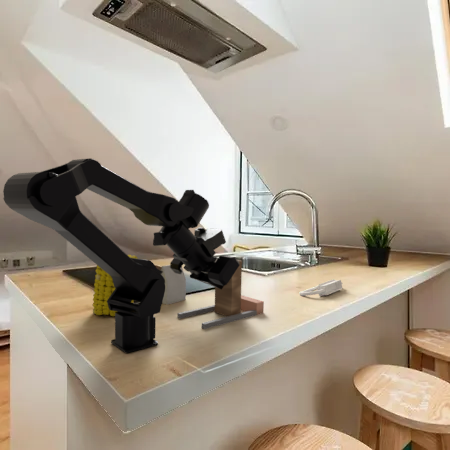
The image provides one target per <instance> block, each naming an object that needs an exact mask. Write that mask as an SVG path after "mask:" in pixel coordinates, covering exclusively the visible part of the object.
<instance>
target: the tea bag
mask: <svg viewBox="0 0 450 450" xmlns="http://www.w3.org/2000/svg"><path fill="white" fill-rule="evenodd" d="M180 269H181V270H182V274H177V273H174V271H173V270H172V269H171V268H170V264H168V265H163V266H161V269H160V271H163V273H161V275H162V276H163V277H164V279H165V293H164V297H163V301H162V305H167V306H168V305H171V304H174V303H179V302H182V301H185V300H186V298H187V297H186V295H187V294H186V292H187V291H186V289H187V279H186V278H187V277H186V275H185V271H184V268H183V266H182V267H181V268H180Z"/></svg>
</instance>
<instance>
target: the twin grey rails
mask: <svg viewBox="0 0 450 450" xmlns="http://www.w3.org/2000/svg"><path fill="white" fill-rule="evenodd" d="M264 304H265V303H264V301H263V300H259V299H256V298H252V297H249V296H245V295H242V294H241V311H243V312H241V313H239V314H235V315H231V316H223V317H219V318H215V319H212V320H207V321H204V322H201V328H202V329H203V330H206V329H211V328H213V327H218V326H222V325H225V324H228V323H233V322H236V321H240V320H243V319H247V318H251V317H255V316H258V315H263V314H264V307H265V306H264ZM213 311H214V312H215V304H212V305H208V306H203V307H198V308H195V309H190V310H185V311H181V312H177V318H178V319H180V320H181V319H185V318H189V317H194V316H197V315H202V314H205V313H210V312H213Z"/></svg>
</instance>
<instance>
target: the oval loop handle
mask: <svg viewBox="0 0 450 450" xmlns="http://www.w3.org/2000/svg"><path fill="white" fill-rule="evenodd" d="M342 289H343V282H342V280H341V279H329V280H326V281H324V282H320V283H319V284H318V285H316V286H313V287H310V288H307V289H305V290H301V291H299V292H298V293H299V296H304V297H306V296H313V295H318V296H319V297H322V296H328V295H331V294H334V293H337V292H338V291H340V290H342Z"/></svg>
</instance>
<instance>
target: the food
mask: <svg viewBox="0 0 450 450" xmlns="http://www.w3.org/2000/svg"><path fill="white" fill-rule="evenodd" d="M127 255H128V256H129V257H130V258H137V259H139V258H138V256H136V255H135V254H133V255H131V254H127ZM95 273H96V274H95V275H94V276H95V279H94V283H93V284H94V285H93V286H94V288H93V292H94V294H93V298H92V301H93V304H92V307H93V308H92V314H94V315H96V316H102V315H105V316H106V315H107V316H109V315H110V317H115V312H117V311H111V310H109V307H108V303H107V300H108V298H109V297H110V296H111V294H112V293H113V291H114V290H115V287H114V284H113V279H112V277H111V276H110V275H109V274H108V273H106V272H105V271H104V270H103V269H102V268H100V267H99V266H98V265H97V264H96V269H95ZM131 302H132V303H135V302H134V300H132V301H131Z"/></svg>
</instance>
